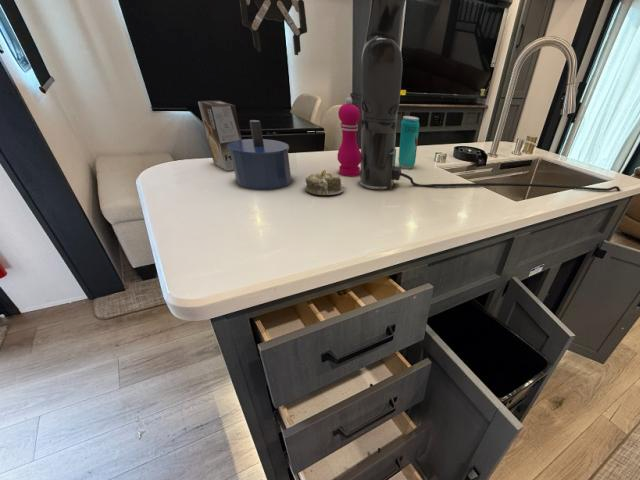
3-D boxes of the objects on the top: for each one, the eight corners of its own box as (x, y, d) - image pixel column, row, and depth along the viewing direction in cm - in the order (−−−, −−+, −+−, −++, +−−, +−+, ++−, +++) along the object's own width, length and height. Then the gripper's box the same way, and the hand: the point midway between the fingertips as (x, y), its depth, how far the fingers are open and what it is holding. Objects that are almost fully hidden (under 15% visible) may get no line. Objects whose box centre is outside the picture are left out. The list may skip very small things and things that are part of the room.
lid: (298, 147, 88) (295, 120, 84) (274, 160, 76) (270, 129, 72) (246, 141, 88) (241, 113, 84) (215, 152, 77) (207, 121, 73)
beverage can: (414, 170, 108) (420, 119, 99) (397, 168, 108) (401, 117, 99) (414, 165, 113) (419, 117, 104) (398, 163, 113) (402, 115, 104)
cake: (298, 194, 83) (294, 172, 80) (318, 184, 91) (316, 164, 87) (332, 198, 80) (329, 176, 77) (350, 188, 88) (348, 167, 85)
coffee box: (248, 168, 95) (236, 105, 85) (226, 171, 91) (211, 105, 81) (233, 160, 99) (220, 100, 90) (212, 163, 95) (196, 100, 86)
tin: (298, 177, 92) (295, 145, 87) (278, 192, 81) (273, 157, 76) (253, 171, 93) (247, 139, 88) (226, 185, 82) (218, 150, 77)
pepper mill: (359, 177, 97) (360, 100, 85) (335, 175, 96) (333, 97, 84) (362, 170, 102) (363, 97, 90) (339, 168, 102) (338, 94, 90)
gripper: (231, -53, 64) (247, 50, 73) (304, -38, 69) (310, 56, 78) (231, -46, 69) (246, 49, 79) (299, -33, 74) (305, 55, 84)
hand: (278, 53), depth 79 cm, fingers open, 8 cm apart
